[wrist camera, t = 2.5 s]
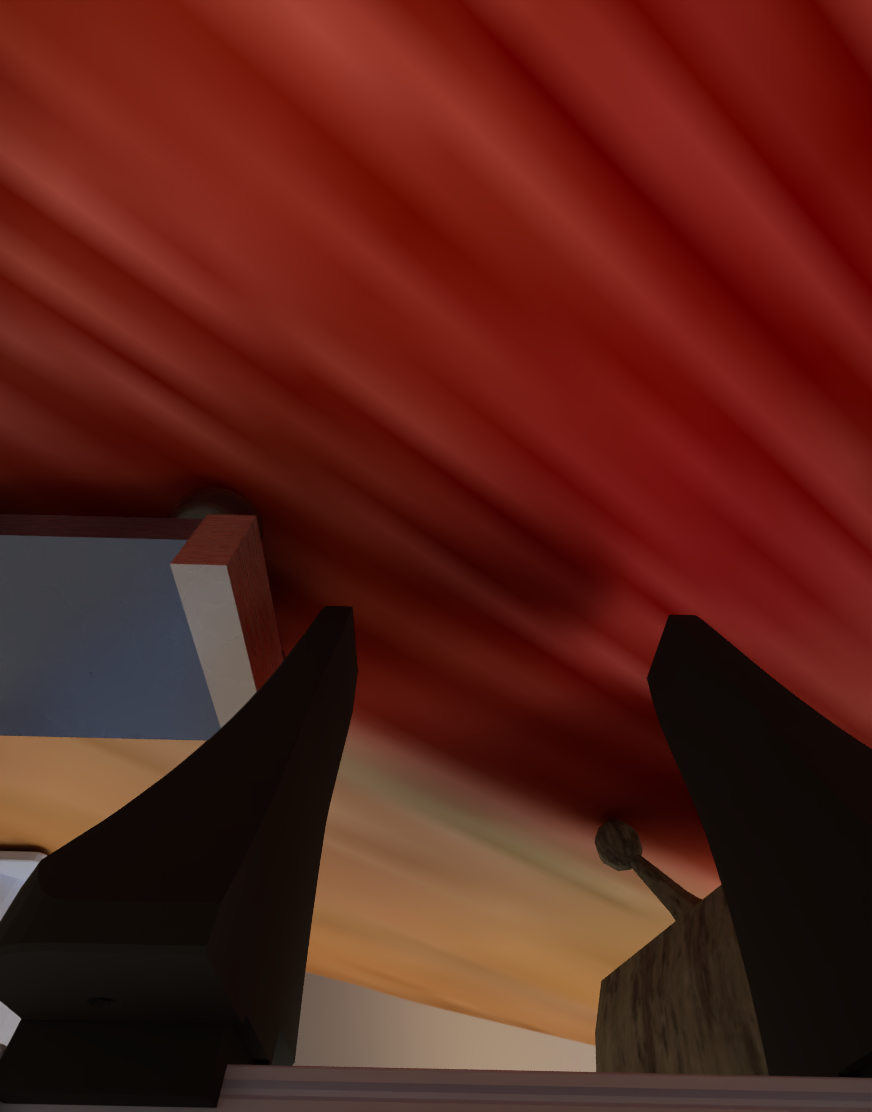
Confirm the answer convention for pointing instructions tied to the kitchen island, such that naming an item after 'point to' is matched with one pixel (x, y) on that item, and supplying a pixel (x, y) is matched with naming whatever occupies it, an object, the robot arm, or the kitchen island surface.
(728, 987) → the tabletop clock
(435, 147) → the kitchen island surface
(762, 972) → the robot arm
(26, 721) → the trolley
